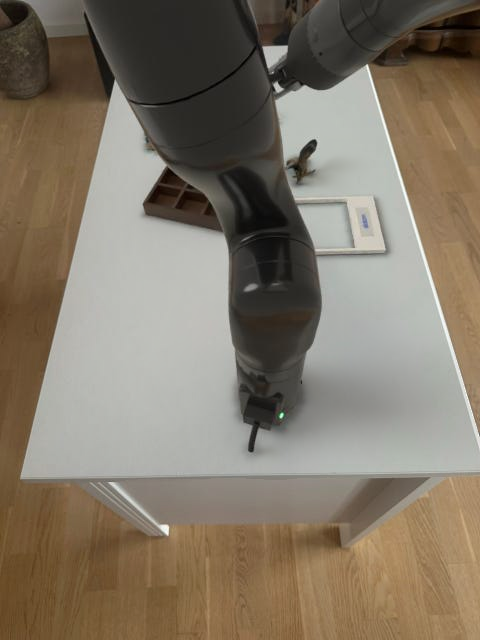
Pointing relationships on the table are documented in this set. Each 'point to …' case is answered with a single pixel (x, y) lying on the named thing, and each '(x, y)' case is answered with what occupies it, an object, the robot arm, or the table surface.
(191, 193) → the grid
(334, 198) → the photo frame
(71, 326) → the table surface
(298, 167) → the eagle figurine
